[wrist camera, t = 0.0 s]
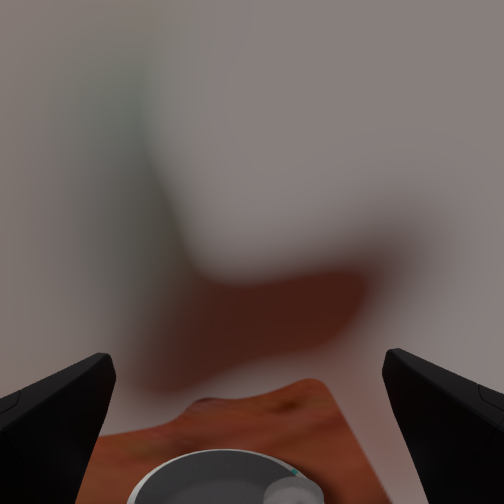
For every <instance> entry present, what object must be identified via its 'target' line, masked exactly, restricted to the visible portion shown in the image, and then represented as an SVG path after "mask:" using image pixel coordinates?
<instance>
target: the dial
mask: <svg viewBox="0 0 504 504" xmlns="http://www.w3.org/2000/svg"><path fill="white" fill-rule="evenodd" d="M323 502H324V495H323V492H322V490H321V488H320V487H319V486H318V485H317V484H316V483H315V482H313V481H311V480H309V479H307V478H303V477H297V476H296V475H295V474H294V473H292V472H291V471H290V470H288V469H287V468H286V467H284V466H282V465H281V464H279V463H277V462H275V461H273V460H270V459H268V458H265V457H262V456H260V455H256V454H252V453H247V452H241V451H231V450H217V451H206V452H200V453H195V454H191V455H188V456H185V457H181V458H179V459H177V460H174V461H172V462H170V463H168V464H166V465H165V466H163V467H162V468H160V469H159V470H157V471H156V472H155V473H154V474H153V475H151V476H150V477H149V478H148V479H147V481H146V482H145V483H144V484H143V486H142V487H141V489H140V490H139V492H138V494H137V496H136V499H135V502H134V504H323Z"/></svg>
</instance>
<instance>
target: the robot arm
mask: <svg viewBox="0 0 504 504" xmlns="http://www.w3.org/2000/svg"><path fill="white" fill-rule="evenodd" d="M382 377H383V380H384V383H385V387H386V390H387V393H388V397H389V400H390V404H391V407H392V410H393V413H394V416H395V418H396V420H397V423H398V425H399V428H400V430H401V432H402V435H403V437H404V440H405V442H406V445H407V447H408V450H409V452H410V455H411V457H412V460H413V462H414V465H415V468H416V470H417V473H418V475H419V478H420V481H421V483H422V486H423V489H424V492H425V494H426V497H427V500H428V503H429V504H504V394H502V393H499V392H497V391H494V390H492V389H489V388H487V387H484V386H482V385H480V384H477V383H475V382H473V381H471V380H468V379H466V378H464V377H462V376H459V375H457V374H455V373H453V372H450V371H448V370H446V369H444V368H442V367H439V366H437V365H435V364H433V363H430V362H428V361H426V360H424V359H422V358H420V357H417V356H415V355H413V354H411V353H409V352H406V351H404V350H402V349H400V348H396V349H390V350H388V351H387V352H386V356H385V360H384V364H383V368H382ZM115 382H116V373H115V369H114V366H113V362H112V358H111V356H110V355H109V354H107V353H96V354H94V355H92V356H90V357H88V358H86V359H84V360H82V361H80V362H78V363H76V364H73V365H71V366H69V367H67V368H65V369H63V370H61V371H59V372H57V373H55V374H53V375H51V376H48V377H46V378H44V379H42V380H40V381H38V382H36V383H34V384H31V385H29V386H27V387H25V388H23V389H21V390H18V391H16V392H14V393H12V394H10V395H8V396H5V397H3V398H0V504H75V501H76V498H77V495H78V492H79V489H80V486H81V483H82V480H83V477H84V474H85V471H86V468H87V465H88V462H89V460H90V457H91V454H92V451H93V449H94V446H95V443H96V441H97V438H98V435H99V433H100V430H101V427H102V425H103V422H104V420H105V417H106V414H107V411H108V406H109V403H110V400H111V396H112V392H113V389H114V385H115Z"/></svg>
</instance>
